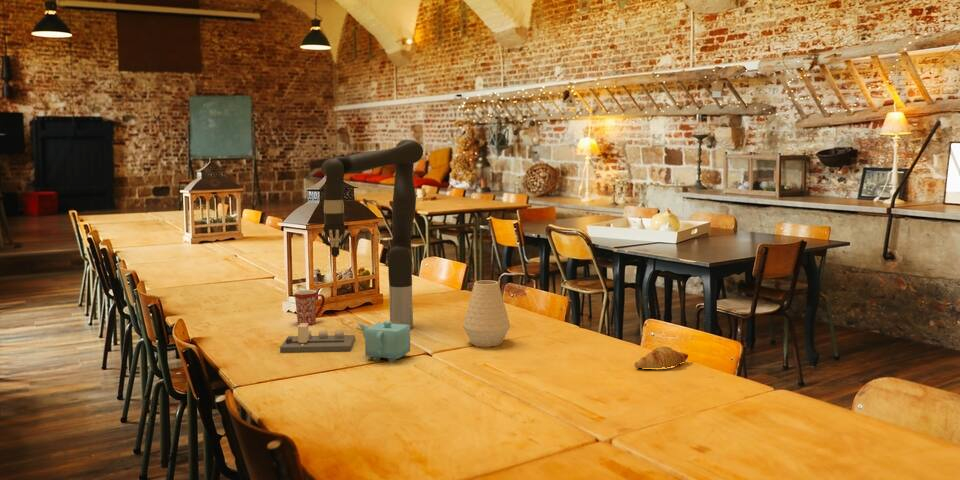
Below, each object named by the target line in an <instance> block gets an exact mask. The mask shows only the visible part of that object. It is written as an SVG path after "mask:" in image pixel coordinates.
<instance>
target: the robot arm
mask: <svg viewBox="0 0 960 480" xmlns="http://www.w3.org/2000/svg"><path fill="white" fill-rule="evenodd" d="M423 156H424V147H423V146H422V145H421V143H419V142H418V141H416V140H413V139H412V140H411V139H402V140H400V141H399V142H398V143H397V144H396V146H394V147H391V148H387V149H386V148H385V149H381V150H380V149H379V150H371V151H370V150H369V151H364V152H358V153H354V154H350V155H347V156H339V157H333V158H328V159H325V160H324V161H323V162H322V164H321V167H320V168H321V172H322V174H323V175H324V176H325V178H326V179H325V180H326V181H325V182H326V183H325V185H324V188H323V222H324V226H323V228H322V230H321V231H320V232H318V234H317V235H318V237H319V238H320V239H321V240H322V242H323V243H324V244H325V245H326V246H327V247H330V250H331V254H330V255H331V256H332V257H333V258H338V256H339V255H340V247H341V246H343V245H344V244H345V243H346V242H347V240H348V239H349V238H350V237H351V235H352V232H351V231H349V230H347V228H346V226H345V206H344V205H345V204H344V191H343V186H344V180H345V179H344V178H345V174H355V173H361V172H365V171H369V170H374V169H378V168H381V167H382V168H383V167H386V166H392V165H394V169H395V170H394V171H395V173H394V181H393V182H394V184H393V197H392V206H391V208H392V209H391V212H392V213H391V218H392V221H391V222H392V239H391V246H390V250H389V253H388V255H387V256H388V257H387V265H388V267H387V269H388V284H389V285H388V293H389V295H388V297H389V299H388V301H389V302H388V303H389V321H391V322H392V323H391V324H404V325H410V329H413V328H414V303H413V273H412V272H413V271H412V270H413V269H412V260H413V259H412V257H413V256H412V255H413V254H412V231H413V226H414V221H415V215H416V205H417V194H416V188H415V187H416V186H415V182H414V173H413V172H414V165H415V163H418V162H419V161H421V159H422V158H423ZM343 235H344V237H343V238H342V240H341V241H340V239H341V237H342V236H343ZM327 237H328V238H329V240H328V238H327Z"/></svg>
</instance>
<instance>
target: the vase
mask: <svg viewBox="0 0 960 480" xmlns="http://www.w3.org/2000/svg"><path fill="white" fill-rule="evenodd" d="M462 328H463V330H464V332H465V335H467V337H468V339H469V341H470V343H471V344H472V345H473V346H474V345H475V347H478V346H481V347H480V348H491V347H490V346H495V347H498V346H497V345H499V346H501V345H502V343H503V341H504V339H505V338H506V335H507V334H508V332H509V330H510V329H511V324H510V320H509V316H508V312H507V309H506V305H505V302H504V298H503V295H502V291H501V287H500V285H499V282H498V281H496V280H492V279H491V280H486V279H485V280H483V279H482V280H476V281H475V282H474V284H473V287H472V291H471V293H470V299H469V302H468V306H467V308H466V313H465V316H464V321H463V325H462ZM500 344H501V345H500Z"/></svg>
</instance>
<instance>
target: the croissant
mask: <svg viewBox="0 0 960 480" xmlns="http://www.w3.org/2000/svg"><path fill="white" fill-rule="evenodd" d="M688 357H689V354H687V353H684V352H680V351H676V350H673V349H672V347H668V346H660V347H656V348H654V349H653V350H652V351H651V352H648V353H647V354H645V356H642V357H640V358H639V360H638V361H635V362H634V364H633V365H634V368H636V369H637V368H662V367H665V368H667V367H671V366H676V365H678V364H680V363H682V362H684V363H685V362H686V361H687V359H688ZM682 364H683V363H682ZM680 365H681V364H680ZM678 366H679V365H678Z"/></svg>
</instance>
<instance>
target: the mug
mask: <svg viewBox="0 0 960 480" xmlns="http://www.w3.org/2000/svg"><path fill="white" fill-rule="evenodd" d="M293 294H294V299H295V310H296V319H297V326H299V324H300V323H308V326H312V325H315V324H316V323H317V317H318V316H319V315H320V314H321V311H322V310H323V309H324V306H325V302H326V298H325V295H323V294H322V293H317V290H315V289H301V290H297V291H294V292H293ZM319 297H321V300H322V301H321V304H320V307H319V309H318V310H317V301H318V299H319Z"/></svg>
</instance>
